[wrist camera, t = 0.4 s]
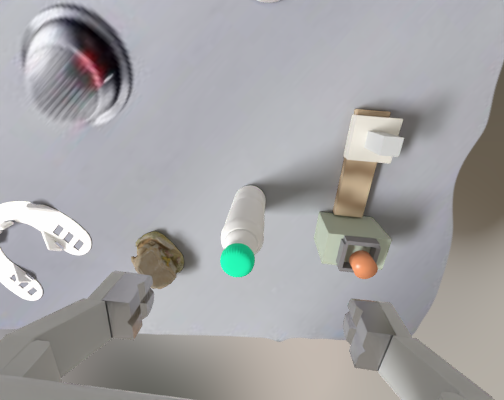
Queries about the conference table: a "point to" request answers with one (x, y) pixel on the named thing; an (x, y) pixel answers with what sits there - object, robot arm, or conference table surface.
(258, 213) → the water bottle
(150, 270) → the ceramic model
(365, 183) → the block
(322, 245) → the end cabinet
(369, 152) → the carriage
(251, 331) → the conference table surface
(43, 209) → the cable organizer
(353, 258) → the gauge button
